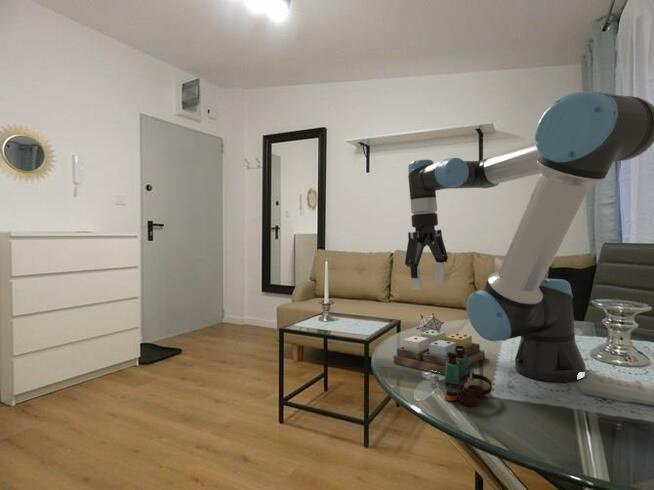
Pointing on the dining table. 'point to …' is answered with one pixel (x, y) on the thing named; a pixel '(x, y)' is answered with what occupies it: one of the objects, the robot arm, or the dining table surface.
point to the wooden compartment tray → (434, 358)
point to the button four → (460, 340)
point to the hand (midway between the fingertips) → (429, 286)
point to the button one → (416, 344)
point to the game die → (429, 323)
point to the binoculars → (462, 379)
